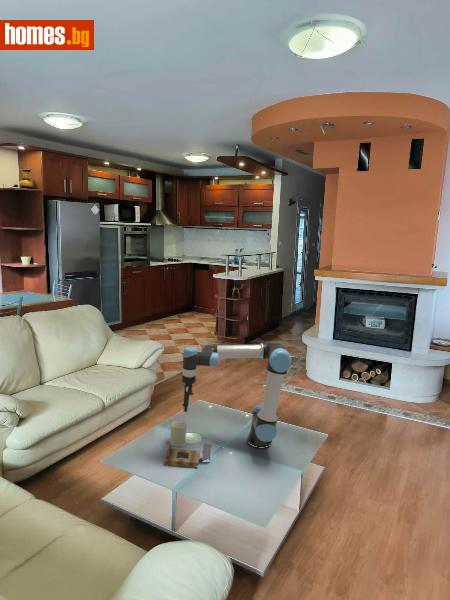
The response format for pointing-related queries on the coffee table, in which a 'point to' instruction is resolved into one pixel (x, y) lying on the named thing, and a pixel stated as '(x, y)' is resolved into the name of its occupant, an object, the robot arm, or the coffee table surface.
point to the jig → (174, 453)
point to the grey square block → (206, 450)
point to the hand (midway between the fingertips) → (187, 411)
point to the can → (178, 433)
